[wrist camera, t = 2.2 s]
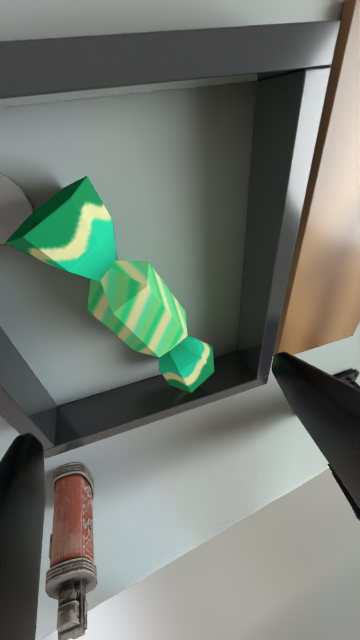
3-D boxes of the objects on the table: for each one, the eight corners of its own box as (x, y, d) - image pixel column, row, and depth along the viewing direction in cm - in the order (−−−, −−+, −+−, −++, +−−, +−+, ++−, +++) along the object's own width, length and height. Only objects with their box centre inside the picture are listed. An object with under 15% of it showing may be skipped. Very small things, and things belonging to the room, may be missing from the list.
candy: (-6, 245, 10) (37, 232, 7) (51, 193, 11) (105, 166, 9) (157, 380, 18) (206, 398, 15) (179, 340, 19) (227, 349, 16)
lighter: (46, 469, 22) (29, 647, 15) (87, 459, 23) (90, 620, 16) (64, 503, 27) (57, 651, 19) (97, 494, 28) (103, 631, 20)
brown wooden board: (496, -7, 11) (514, -13, 11) (348, 331, 24) (353, 335, 23) (343, 0, 10) (356, -6, 9) (272, 355, 22) (276, 360, 22)
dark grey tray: (281, 43, 10) (341, 19, 8) (247, 356, 21) (267, 383, 19) (-220, 82, 7) (-360, 63, 5) (49, 418, 18) (44, 459, 16)
